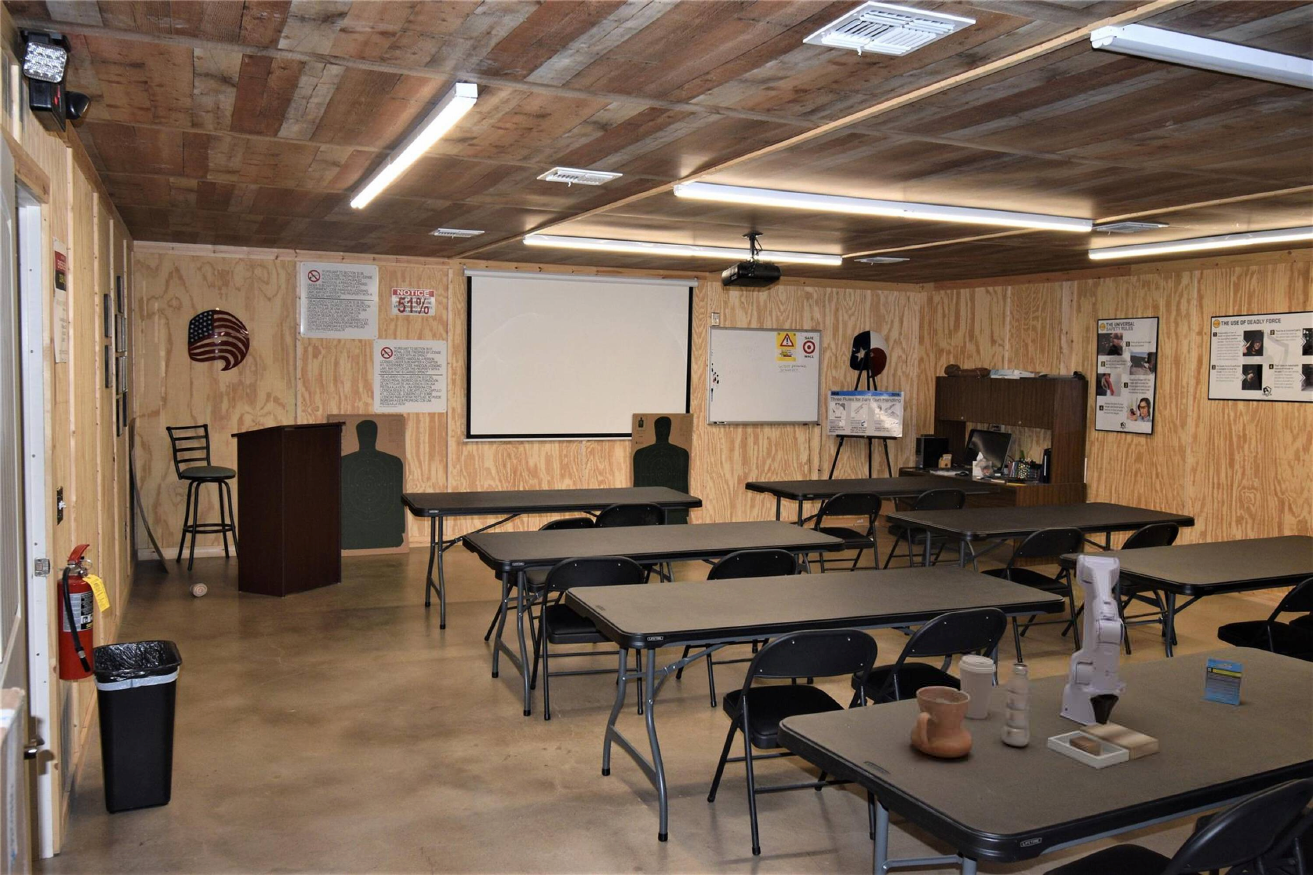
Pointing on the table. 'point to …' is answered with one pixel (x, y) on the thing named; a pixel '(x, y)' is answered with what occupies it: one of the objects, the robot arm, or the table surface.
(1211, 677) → the label tape box
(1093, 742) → the brown block
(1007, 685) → the plastic bottle
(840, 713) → the table surface
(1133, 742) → the tan wooden flat block
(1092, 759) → the box
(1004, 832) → the table surface
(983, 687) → the coffee cup
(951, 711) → the ceramic jug
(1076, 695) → the robot arm
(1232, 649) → the table surface
